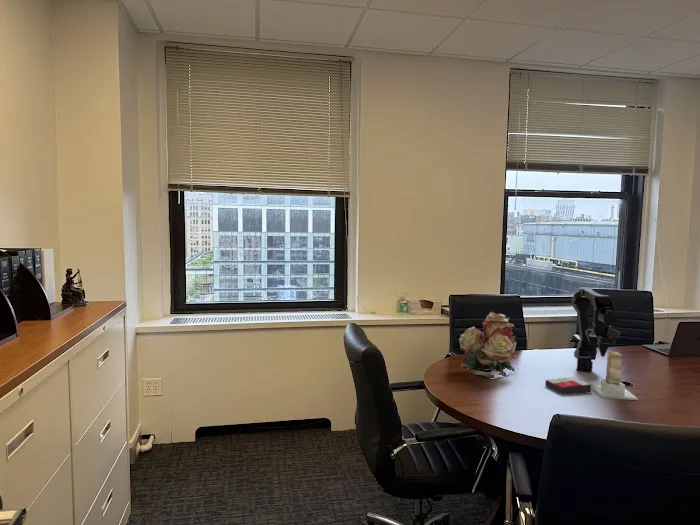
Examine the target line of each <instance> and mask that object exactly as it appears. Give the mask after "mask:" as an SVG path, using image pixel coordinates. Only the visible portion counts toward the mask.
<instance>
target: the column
mask: <svg viewBox="0 0 700 525" xmlns="http://www.w3.org/2000/svg"><path fill="white" fill-rule="evenodd" d="M622 356H623V354H621V353H619V352H618V351H607V357H606V360H607V361H606V373H605V374H606V375H605V379H606V381H608V382H609V383H618V384H620V382H621V373H622V371H621V370H622Z"/></svg>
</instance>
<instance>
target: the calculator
mask: <svg viewBox="0 0 700 525" xmlns="http://www.w3.org/2000/svg"><path fill="white" fill-rule="evenodd" d="M546 386H548V387H549V388H548V387H547V388H548V389H550V388H551V389H550V390H552V389H553V390H552V391H554V390H555V391H554V392H556V391H557V392H556V393H558V392H559V393H561V394H565V395H573V394H572V393H576V394H587V393H586V392H591V393H592V389H591V385H590V383H588V382H587V381H583V380H581V379H579V378H576V377H574V376H569V377H566V376H565V377H559V378H548V379H546V380H545V387H546ZM559 393H558V394H559ZM561 394H560V395H561Z"/></svg>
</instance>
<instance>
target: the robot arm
mask: <svg viewBox="0 0 700 525" xmlns="http://www.w3.org/2000/svg"><path fill="white" fill-rule="evenodd" d="M571 304H572V308H573V309H574V310H575V311H576V313H577V323H578V330H579V331H578V332H579V341H578V342H577V346H576V349H575V350H574V352H573V355H574V358H575V359H576V361H577V362H576V363H577V364H576V371H578V372H584V373H592V371H593V361H595V360H596V359H597V353H598V350H599V354H600V356H601V357H602V358H604V357H605V356H606V354H607V352H608V349H609V347H610V346H613V345H614V344H616V339H619V338H620V335H621V331H618V330H616V329H615V327H614V325H616V323H618V317H617V316H616V315H615V314H614V312H615V305H614V302H613V300H612V298H611V297H610V295H608V294H600V293H598V292H596V291H595V290H593V289H592V288H580V290H579V291H577V292H576V293H574V294H573V295H572V298H571ZM591 305H592V307H593V322H591V325H592V328H590V325H589V324H590V323H589V315H588V311H589V309H590V308H591ZM614 337H615V338H614ZM597 348H598V350H597Z"/></svg>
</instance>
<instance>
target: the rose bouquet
mask: <svg viewBox="0 0 700 525" xmlns="http://www.w3.org/2000/svg"><path fill="white" fill-rule="evenodd" d="M509 320H510V316H508V317H507V315H505V314H502V313H495V312H494V311H490V312H489V314H487V315H486V317H485V319H484V320H483V321H481V322H482V327H483V331H480V330H479V329H477V328H476V327H475V326H472V327H469V328H467V329H466V330H464V333H462V334H460V337H459V338H458V340H459V345H460V346H459V347H460V348H459V349H460V351H463V352H464V355H465V354H468V355H467V357H464V358H463V359H462V362H461V365H460V367H462V366H465V367H467V366H468V367H471V368H473V369H474V368H481V369H489V370H494V369H501V370H499V371H501V372H499V371H498V370H497V371H498V372H497V374H499V375H502V376H505V375H506V373H505V372H503V370H502V369H505V368H507V369H509V370H512V371H515V368H514V367H513V366H512V365H511V361H512V360H513V359H515V358H517V354H516V347H517V341H516V339H515V338H516V335H514V334H513V328H515V325H514V324H513V323H510V322H509ZM469 354H470V355H469ZM481 369H478V370H473V371H475V372H476V373H474V374H473V375H478V376H479V375H480V376H484V377H487V378H488V379H489V378H494V375H491V374H489V373H487V372H482V371H483V370H482V371H479V370H481ZM466 370H469V369H468V368H467V369H466ZM489 370H488V371H489ZM469 371H470V370H469ZM494 371H495V370H494ZM515 372H516V371H515ZM490 373H491V372H490ZM505 377H506V376H505Z"/></svg>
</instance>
